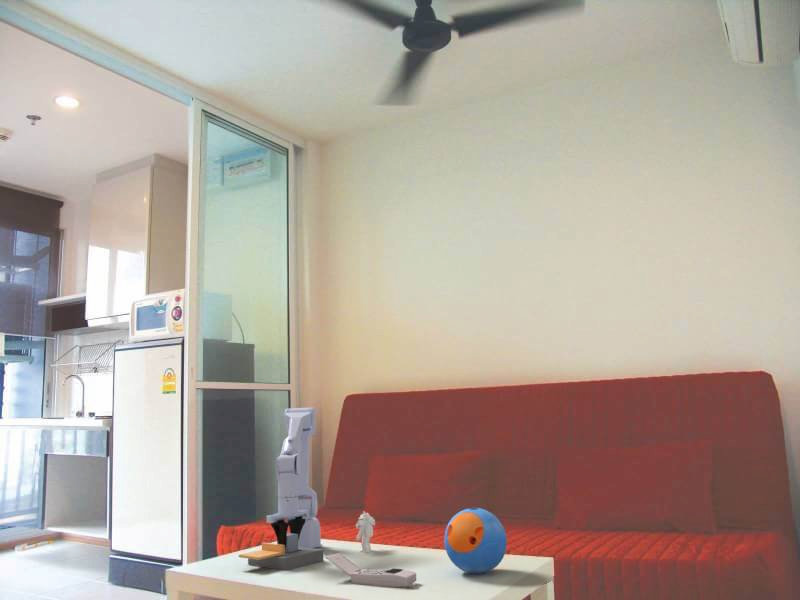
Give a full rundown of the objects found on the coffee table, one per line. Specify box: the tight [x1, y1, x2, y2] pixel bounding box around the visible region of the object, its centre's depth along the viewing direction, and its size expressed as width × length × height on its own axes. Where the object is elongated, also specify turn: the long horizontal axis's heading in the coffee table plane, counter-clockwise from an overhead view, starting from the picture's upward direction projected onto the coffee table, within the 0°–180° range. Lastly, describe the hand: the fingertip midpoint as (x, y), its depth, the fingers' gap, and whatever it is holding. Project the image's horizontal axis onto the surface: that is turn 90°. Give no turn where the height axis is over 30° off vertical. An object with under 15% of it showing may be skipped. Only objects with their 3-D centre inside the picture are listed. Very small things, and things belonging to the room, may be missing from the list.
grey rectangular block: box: [276, 532, 298, 553], centre depth 183 cm, size 4×4×5 cm
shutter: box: [238, 542, 285, 560], centre depth 175 cm, size 9×8×2 cm
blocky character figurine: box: [355, 510, 376, 553], centre depth 195 cm, size 9×4×12 cm, turn 153°
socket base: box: [247, 547, 324, 571], centre depth 181 cm, size 14×16×3 cm
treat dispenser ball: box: [443, 507, 508, 575], centre depth 160 cm, size 16×15×15 cm
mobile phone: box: [325, 552, 417, 588], centre depth 154 cm, size 6×6×25 cm
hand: (288, 546), depth 183 cm, fingers closed on grey rectangular block, 4 cm apart
